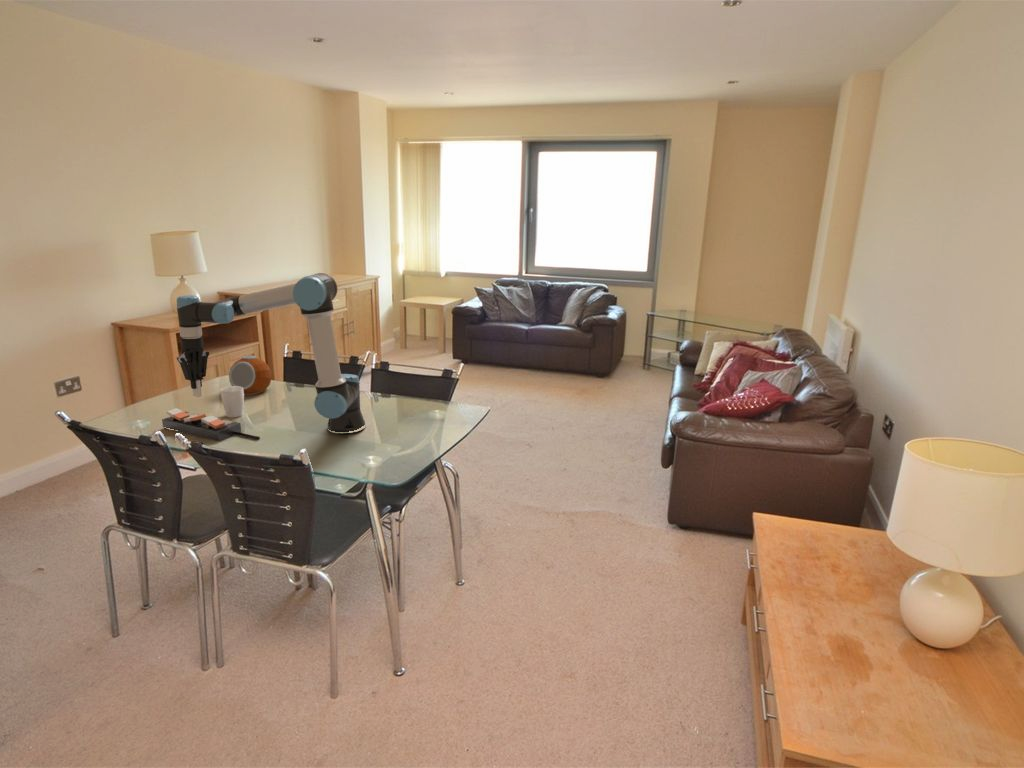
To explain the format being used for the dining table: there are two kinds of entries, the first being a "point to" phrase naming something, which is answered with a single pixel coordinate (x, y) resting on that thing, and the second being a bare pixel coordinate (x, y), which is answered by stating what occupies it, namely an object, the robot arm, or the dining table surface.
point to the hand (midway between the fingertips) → (197, 395)
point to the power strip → (205, 428)
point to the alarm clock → (250, 375)
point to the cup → (233, 400)
